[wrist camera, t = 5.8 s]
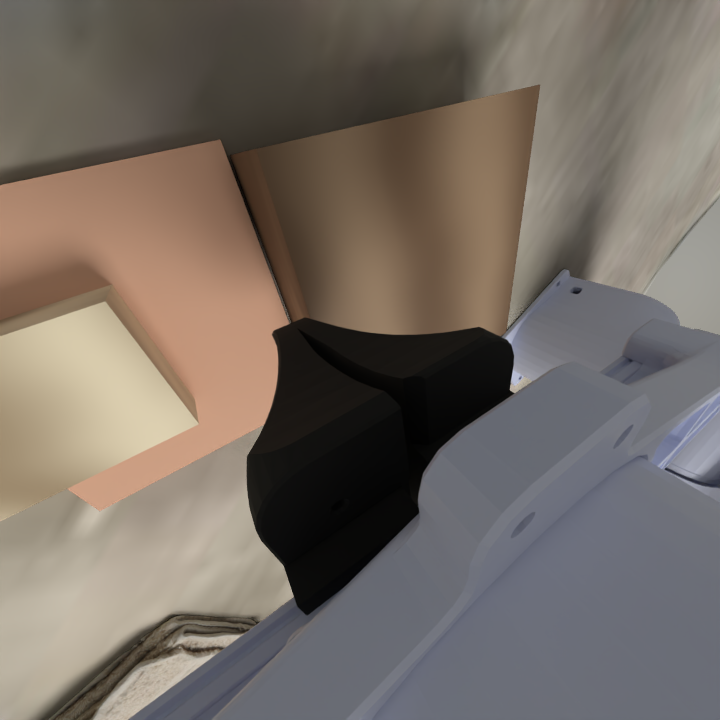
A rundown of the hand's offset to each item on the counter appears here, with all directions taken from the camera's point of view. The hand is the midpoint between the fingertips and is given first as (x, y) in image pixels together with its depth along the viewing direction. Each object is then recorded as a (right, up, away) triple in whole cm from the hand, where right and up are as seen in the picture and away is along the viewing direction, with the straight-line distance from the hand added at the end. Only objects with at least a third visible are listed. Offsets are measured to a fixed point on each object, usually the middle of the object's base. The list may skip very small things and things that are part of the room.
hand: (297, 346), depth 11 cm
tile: (-9, -3, -1) cm, 9 cm away
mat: (-7, 0, +2) cm, 7 cm away
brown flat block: (+4, +5, +6) cm, 8 cm away
